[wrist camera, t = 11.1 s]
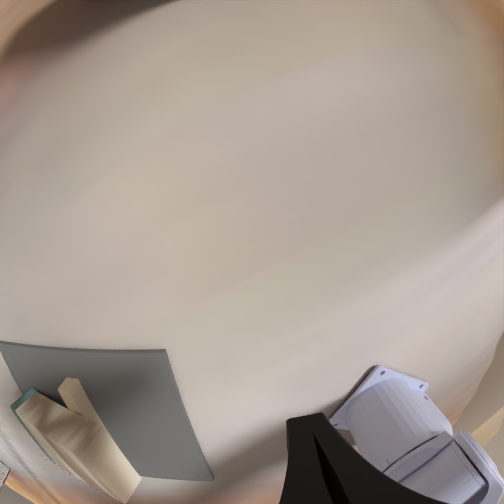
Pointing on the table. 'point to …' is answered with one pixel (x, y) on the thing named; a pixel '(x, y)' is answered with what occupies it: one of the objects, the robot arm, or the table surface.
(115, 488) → the ash slab
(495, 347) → the table surface
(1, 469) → the candy bar box
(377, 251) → the table surface
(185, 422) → the rubber mat
